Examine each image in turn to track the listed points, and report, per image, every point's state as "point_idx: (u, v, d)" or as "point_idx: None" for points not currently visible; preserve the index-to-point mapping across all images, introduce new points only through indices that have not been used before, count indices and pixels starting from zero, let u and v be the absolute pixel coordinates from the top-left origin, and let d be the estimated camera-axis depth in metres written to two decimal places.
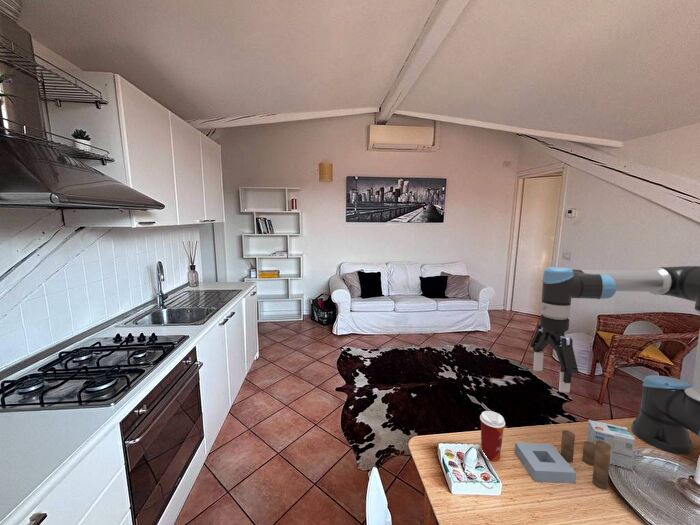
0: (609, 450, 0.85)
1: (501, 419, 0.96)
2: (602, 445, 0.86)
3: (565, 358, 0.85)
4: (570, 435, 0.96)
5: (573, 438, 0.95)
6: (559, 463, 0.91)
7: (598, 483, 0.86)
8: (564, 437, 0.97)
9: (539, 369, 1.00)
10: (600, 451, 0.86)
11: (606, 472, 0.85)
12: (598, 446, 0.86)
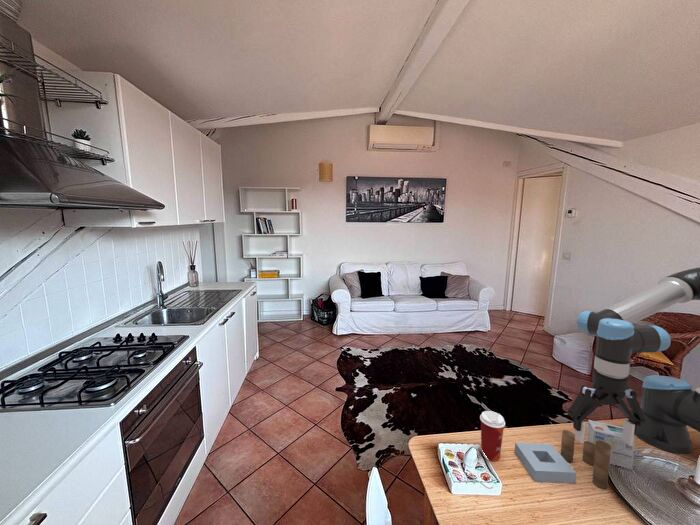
0: (609, 450, 0.85)
1: (501, 419, 0.96)
2: (602, 445, 0.86)
3: None
4: (570, 435, 0.96)
5: (573, 438, 0.95)
6: (559, 463, 0.91)
7: (598, 483, 0.86)
8: (564, 437, 0.97)
9: (626, 441, 0.85)
10: (600, 451, 0.86)
11: (606, 472, 0.85)
12: (598, 446, 0.86)
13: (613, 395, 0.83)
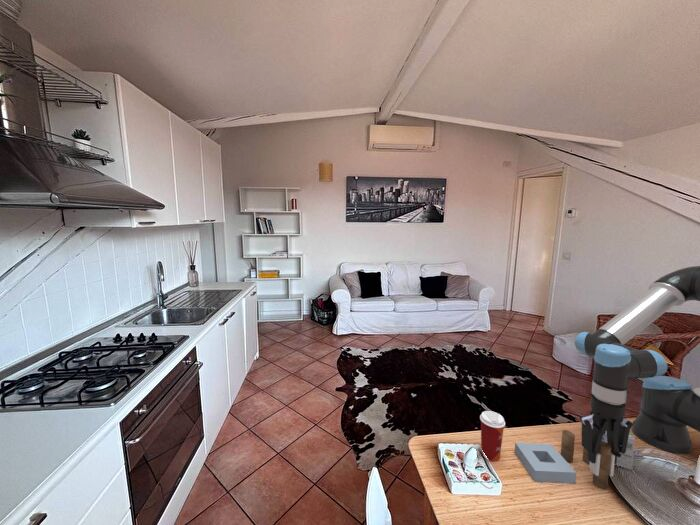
0: (609, 450, 0.85)
1: (501, 419, 0.96)
2: (602, 445, 0.86)
3: None
4: (570, 435, 0.96)
5: (573, 438, 0.95)
6: (559, 463, 0.91)
7: (598, 483, 0.86)
8: (564, 437, 0.97)
9: None
10: (601, 451, 0.86)
11: (606, 472, 0.85)
12: None
13: (612, 419, 0.84)
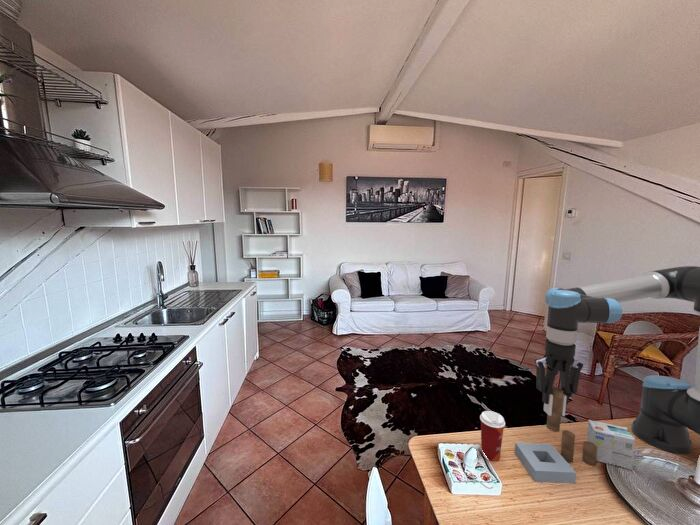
0: (561, 393, 0.89)
1: (501, 419, 0.96)
2: (555, 389, 0.90)
3: None
4: (570, 435, 0.96)
5: (573, 438, 0.95)
6: (559, 463, 0.91)
7: (551, 426, 0.91)
8: (564, 437, 0.97)
9: None
10: (553, 395, 0.90)
11: (558, 415, 0.90)
12: None
13: (564, 361, 0.88)
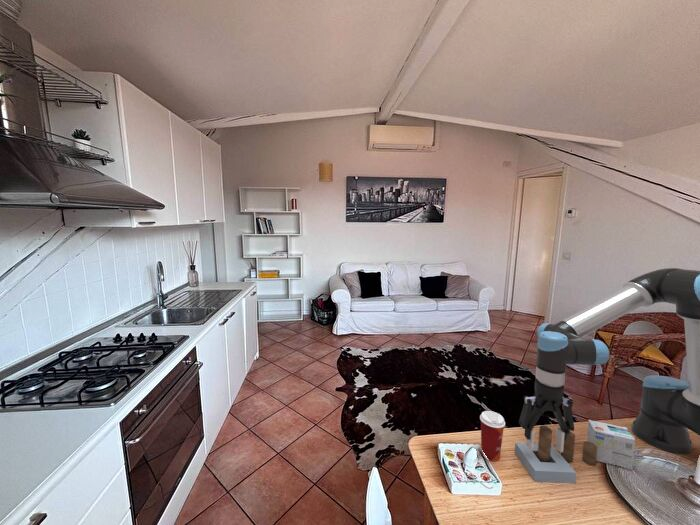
0: (550, 434, 0.91)
1: (501, 419, 0.96)
2: (544, 430, 0.92)
3: None
4: (570, 435, 0.96)
5: (573, 438, 0.95)
6: (559, 463, 0.91)
7: None
8: None
9: (558, 448, 0.93)
10: (543, 435, 0.92)
11: (548, 455, 0.92)
12: (541, 431, 0.93)
13: (552, 401, 0.91)
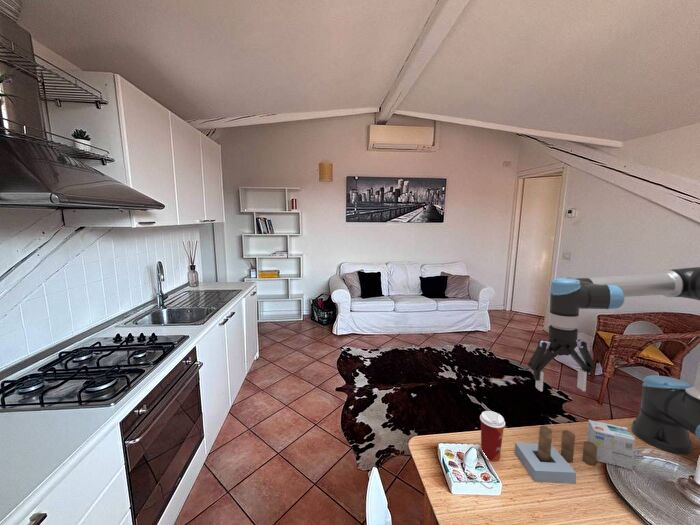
0: (550, 434, 0.91)
1: (501, 419, 0.96)
2: (544, 430, 0.92)
3: None
4: (570, 435, 0.96)
5: (573, 438, 0.95)
6: (559, 463, 0.91)
7: None
8: (564, 437, 0.97)
9: (581, 388, 0.95)
10: (543, 435, 0.92)
11: (548, 455, 0.92)
12: (541, 431, 0.93)
13: (566, 346, 0.93)
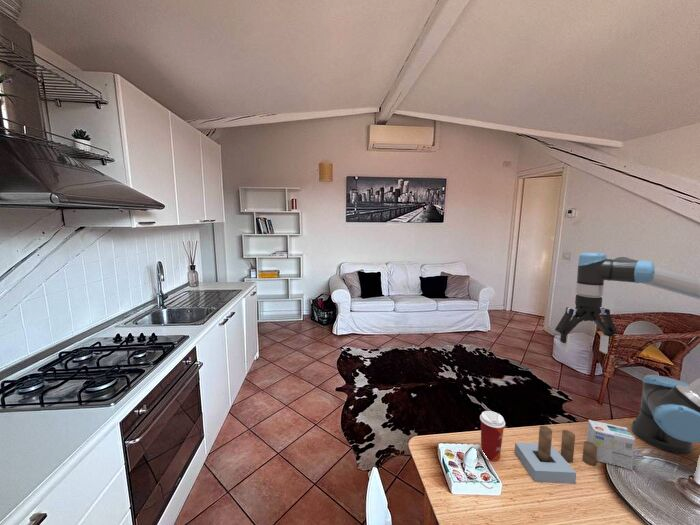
0: (550, 434, 0.91)
1: (501, 419, 0.96)
2: (544, 430, 0.92)
3: None
4: (570, 435, 0.96)
5: (573, 438, 0.95)
6: (559, 463, 0.91)
7: None
8: (564, 437, 0.97)
9: (603, 351, 1.07)
10: (542, 435, 0.92)
11: (548, 455, 0.92)
12: (541, 431, 0.93)
13: (591, 312, 1.05)
